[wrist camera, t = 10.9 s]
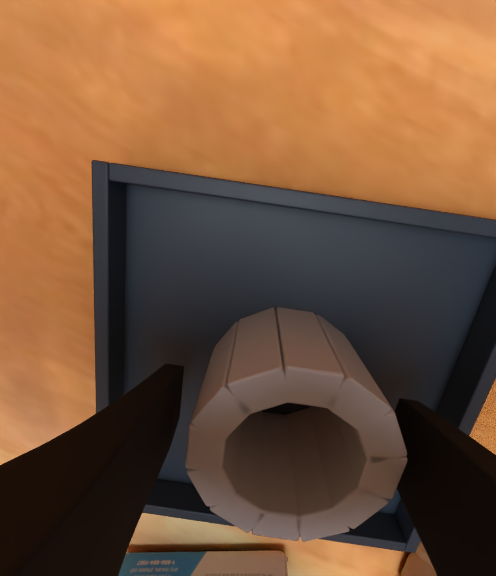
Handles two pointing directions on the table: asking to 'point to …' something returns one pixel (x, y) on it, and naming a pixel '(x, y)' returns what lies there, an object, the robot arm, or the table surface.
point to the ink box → (205, 563)
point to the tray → (288, 300)
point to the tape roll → (292, 430)
